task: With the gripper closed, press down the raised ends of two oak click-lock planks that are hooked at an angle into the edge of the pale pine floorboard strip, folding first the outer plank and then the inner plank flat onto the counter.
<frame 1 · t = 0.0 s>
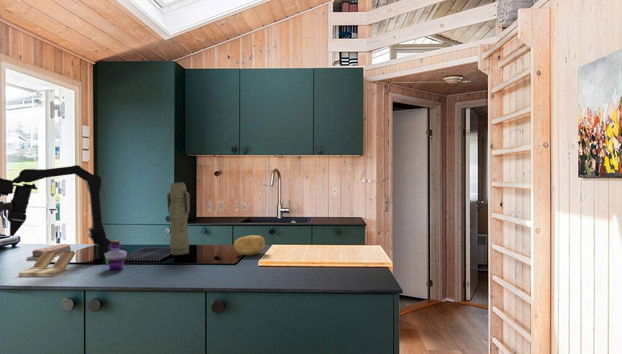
hand: (11, 234, 172), 15 cm above the countertop, tool pointing down, fingers open, 9 cm apart
pine floorboard strip: (41, 273, 168), on the countertop
potato: (250, 255, 198), on the countertop
olive stone statue: (179, 253, 203), on the countertop
potion bottle: (116, 269, 174), on the countertop
inner oak plank: (63, 260, 175), point 4 cm above the countertop, hinge at 35.0°
outer oak plank: (44, 260, 176), point 4 cm above the countertop, hinge at 35.0°
packaged product: (51, 257, 201), on the countertop
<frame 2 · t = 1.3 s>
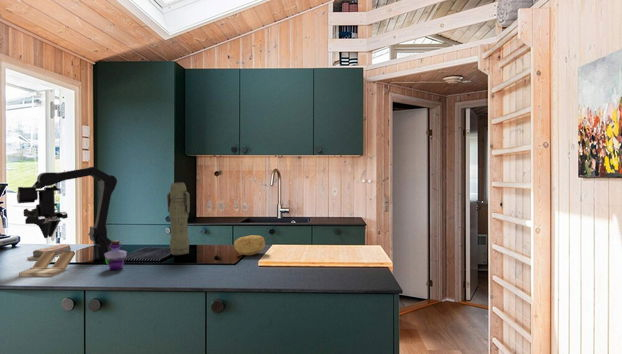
hand: (48, 237, 178), 13 cm above the countertop, tool pointing down, fingers closed
nothing on the countertop moved.
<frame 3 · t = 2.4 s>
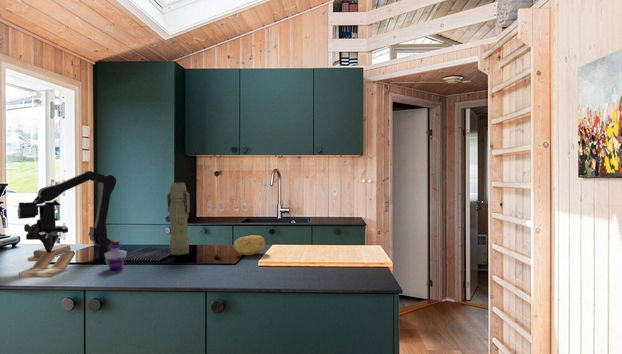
hand: (48, 252, 178), 7 cm above the countertop, tool pointing down, fingers closed
outer oak plank: (44, 260, 176), point 4 cm above the countertop, hinge at 35.0°, touching gripper
everything else where it was.
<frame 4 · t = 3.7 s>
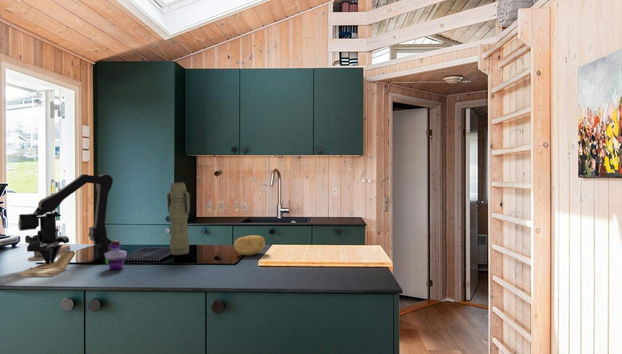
hand: (49, 263, 179), 2 cm above the countertop, tool pointing down, fingers closed on outer oak plank, 2 cm apart
outer oak plank: (45, 266, 176), point 1 cm above the countertop, hinge at 2.4°, touching gripper
everything else where it was.
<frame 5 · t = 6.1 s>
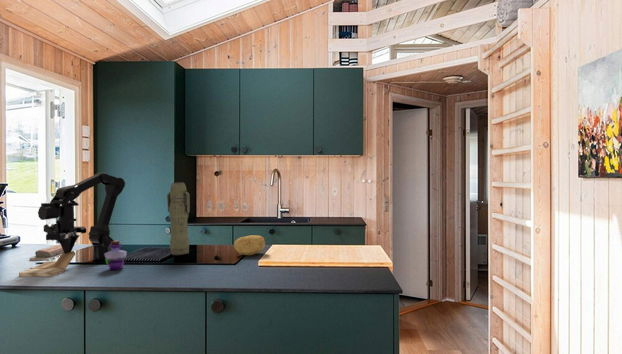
hand: (67, 252, 178), 6 cm above the countertop, tool pointing down, fingers closed
inner oak plank: (63, 260, 175), point 4 cm above the countertop, hinge at 33.6°, touching gripper
outer oak plank: (45, 266, 176), point 1 cm above the countertop, hinge at 2.3°
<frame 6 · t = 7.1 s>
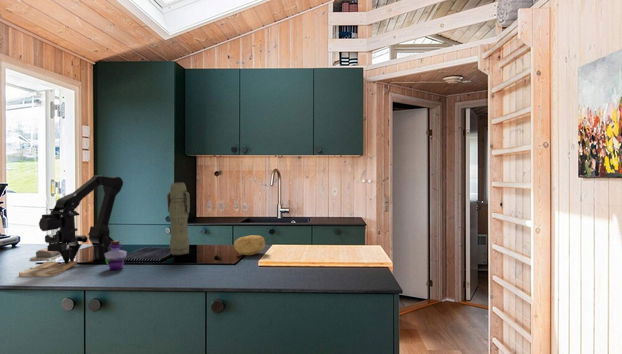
hand: (69, 262, 179), 2 cm above the countertop, tool pointing down, fingers closed on inner oak plank, 3 cm apart
inner oak plank: (64, 266, 176), point 1 cm above the countertop, hinge at 4.6°, touching gripper
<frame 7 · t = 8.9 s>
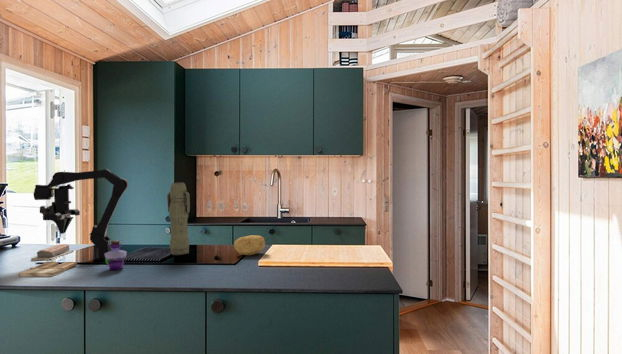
hand: (62, 233, 188), 13 cm above the countertop, tool pointing down, fingers closed
inner oak plank: (64, 266, 176), point 1 cm above the countertop, hinge at 2.6°
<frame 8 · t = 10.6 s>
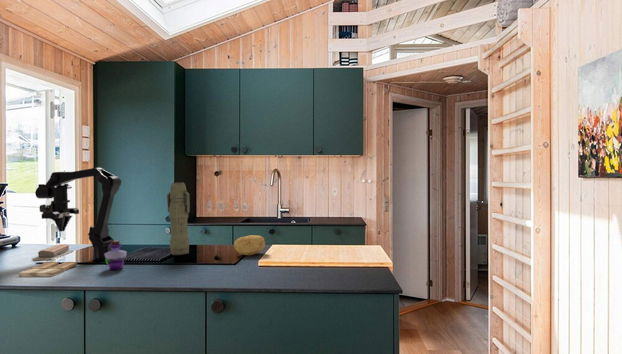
hand: (61, 231, 194), 13 cm above the countertop, tool pointing down, fingers closed
at the end: outer oak plank at +2° (first picture: +35°); inner oak plank at +3° (first picture: +35°) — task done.
